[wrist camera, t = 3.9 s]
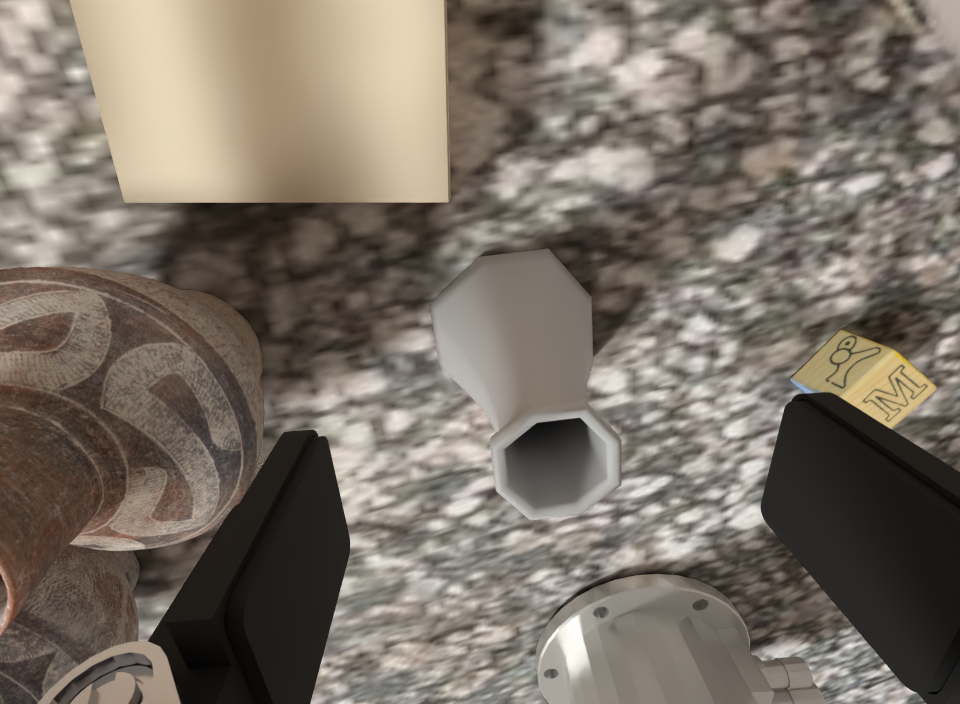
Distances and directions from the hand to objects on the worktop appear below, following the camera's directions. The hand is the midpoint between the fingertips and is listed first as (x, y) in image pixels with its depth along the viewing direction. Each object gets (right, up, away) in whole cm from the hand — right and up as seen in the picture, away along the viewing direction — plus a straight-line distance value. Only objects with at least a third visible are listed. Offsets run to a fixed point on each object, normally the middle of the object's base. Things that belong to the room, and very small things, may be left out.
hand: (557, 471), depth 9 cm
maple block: (-8, +13, +7) cm, 17 cm away
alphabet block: (+15, +2, +12) cm, 19 cm away
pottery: (-18, -3, +13) cm, 23 cm away
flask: (0, +4, +11) cm, 11 cm away
